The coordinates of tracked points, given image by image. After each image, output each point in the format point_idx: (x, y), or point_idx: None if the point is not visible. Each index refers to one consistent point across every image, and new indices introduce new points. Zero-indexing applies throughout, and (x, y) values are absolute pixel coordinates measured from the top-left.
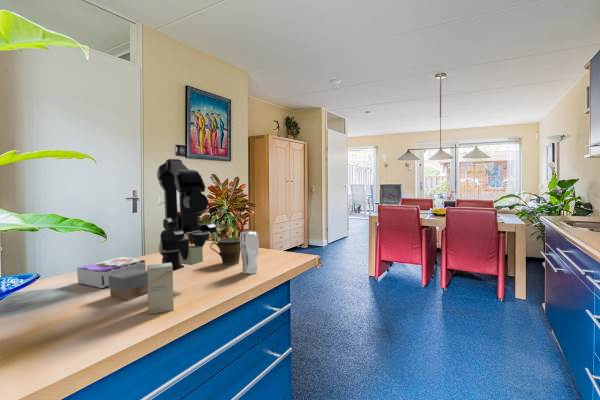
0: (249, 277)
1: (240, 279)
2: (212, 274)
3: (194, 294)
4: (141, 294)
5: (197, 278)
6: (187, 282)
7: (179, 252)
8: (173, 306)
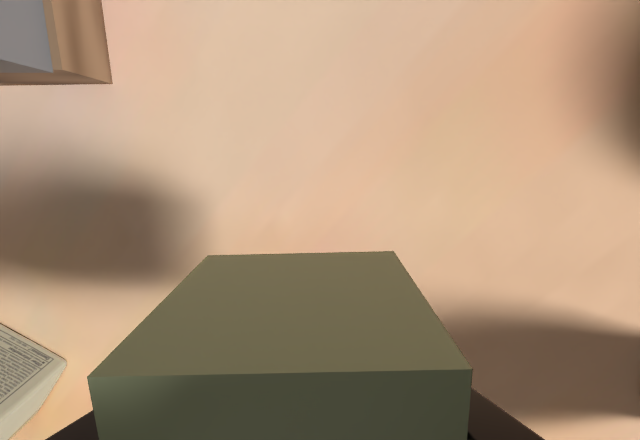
0: (585, 435)
1: (535, 412)
2: (577, 179)
3: None
4: (28, 83)
5: (460, 146)
6: (362, 150)
7: (140, 323)
8: (23, 426)
